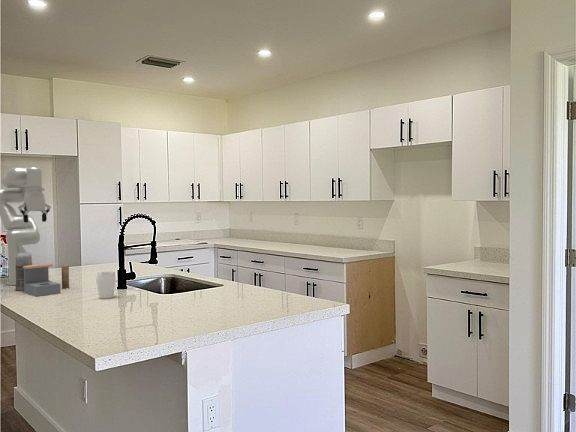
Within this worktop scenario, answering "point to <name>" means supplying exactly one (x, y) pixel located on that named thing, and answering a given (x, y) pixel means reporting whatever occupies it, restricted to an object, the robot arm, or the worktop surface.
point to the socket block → (39, 281)
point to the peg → (65, 277)
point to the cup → (106, 284)
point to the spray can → (21, 269)
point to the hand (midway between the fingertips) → (35, 222)
